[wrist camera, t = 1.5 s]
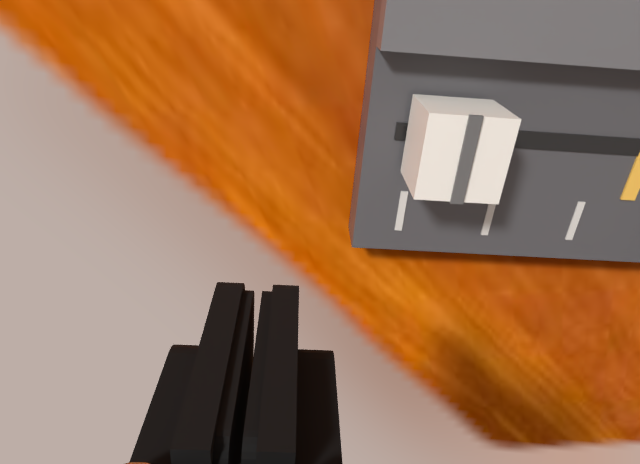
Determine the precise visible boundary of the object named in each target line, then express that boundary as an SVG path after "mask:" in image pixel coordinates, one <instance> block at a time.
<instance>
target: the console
mask: <svg viewBox="0 0 640 464" xmlns="http://www.w3.org/2000/svg"><path fill="white" fill-rule="evenodd" d="M413 94H420V95H434V96H448V97H463V98H477V99H491V100H494V101H496V102H497V103H499V104H500V105H502V106H503V107H504V108H506V109H507V110H509V111H510V112H512V113H513V114H515V115H516V116H517V117H519V118H520V119H522V120H521V123H520V127H519V131H518V135H517V138H516V142H515V146H514V149H513V153H512V157H511V160H510V164H509V168H508V171H507V175H506V179H505V183H504V186H503V190H502V194H501V197H500V201H499V204H482V203H465V202H464V203H463V204H450V202H448V201H431V200H414V199H413V197H412V195H411V193H410V191H409V188H408V186H407V184H406V182H405V180H404V178H403V176H402V173H401V165H402V158H403V152H404V146H405V140H406V134H407V127H408V121H409V115H410V109H411V103H412V96H413ZM349 232H350V239H351V245H352V247H356V248H375V249H394V250H413V251H432V252H451V253H470V254H489V255H508V256H527V257H546V258H565V259H584V260H603V261H622V262H640V0H375V2H374V11H373V20H372V28H371V37H370V46H369V55H368V63H367V72H366V81H365V89H364V98H363V107H362V115H361V124H360V133H359V142H358V150H357V159H356V168H355V176H354V185H353V194H352V203H351V211H350V220H349Z"/></svg>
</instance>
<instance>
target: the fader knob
mask: <svg viewBox="0 0 640 464" xmlns="http://www.w3.org/2000/svg"><path fill="white" fill-rule="evenodd" d="M521 120H522V119H520V118H519V117H517V116H516V115H515V114H513V113H512V112H510V111H509V110H507V109H506V108H504V107H503V106H502V105H500V104H499V103H497V102H496V101H494V100H491V99H477V98H463V97H448V96H434V95H420V94H413V96H412V103H411V109H410V115H409V121H408V127H407V134H406V140H405V146H404V152H403V158H402V165H401V173H402V176H403V178H404V180H405V182H406V184H407V186H408V188H409V191H410V193H411V195H412V197H413V199H414V200H431V201H448V202H450V204H463V203H464V202H465V203H482V204H499V201H500V197H501V194H502V190H503V186H504V183H505V179H506V175H507V171H508V168H509V164H510V160H511V157H512V153H513V149H514V146H515V142H516V138H517V135H518V131H519V127H520V123H521Z"/></svg>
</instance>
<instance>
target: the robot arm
mask: <svg viewBox="0 0 640 464" xmlns="http://www.w3.org/2000/svg"><path fill="white" fill-rule="evenodd" d="M298 305H299V286H289V285H273V290H272V292H268V291H262V298H261V305H260V313H259V321H258V328H257V335H256V343H255V350H254V357H253V348H254V347H253V346H254V344H253V343H254V291H246V290H245V285H244V283H225V282H224V283H223V282H218V283H217V285H216V288H215V291H214V295H213V298H212V302H211V305H210V309H209V312H208V316H207V320H206V323H205V327H204V331H203V334H202V337H201V341H200V344H199V346H196V345H173V346H172V347H171V349H170V351H169V353H168V356H167V359H166V362H165V364H164V367H163V370H162V373H161V376H160V378H159V381H158V384H157V387H156V390H155V392H154V395H153V398H152V401H151V404H150V406H149V409H148V413H147V415H146V418H145V421H144V423H143V426H142V429H141V432H140V434H139V437H138V440H137V443H136V446H135V448H134V451H133V454H132V457H131V460H130V462H129V463H126V464H342V454H341V440H340V428H339V414H338V401H337V388H336V374H335V361H334V353H333V351H324V350H298V307H299V306H298Z"/></svg>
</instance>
